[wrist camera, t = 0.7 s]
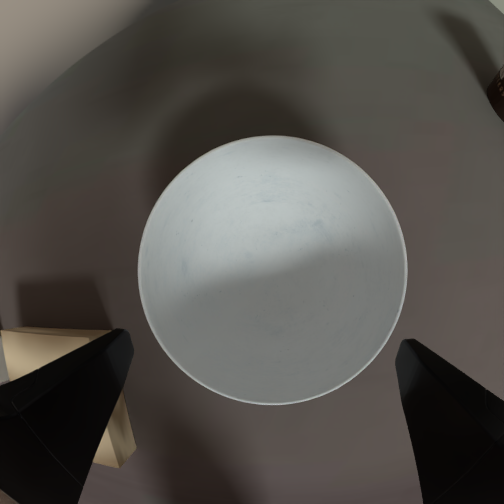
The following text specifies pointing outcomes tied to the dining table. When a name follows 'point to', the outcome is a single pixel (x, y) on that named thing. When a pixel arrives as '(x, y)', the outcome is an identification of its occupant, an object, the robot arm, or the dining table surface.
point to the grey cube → (3, 364)
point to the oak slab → (51, 348)
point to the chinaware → (272, 270)
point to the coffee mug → (497, 93)
